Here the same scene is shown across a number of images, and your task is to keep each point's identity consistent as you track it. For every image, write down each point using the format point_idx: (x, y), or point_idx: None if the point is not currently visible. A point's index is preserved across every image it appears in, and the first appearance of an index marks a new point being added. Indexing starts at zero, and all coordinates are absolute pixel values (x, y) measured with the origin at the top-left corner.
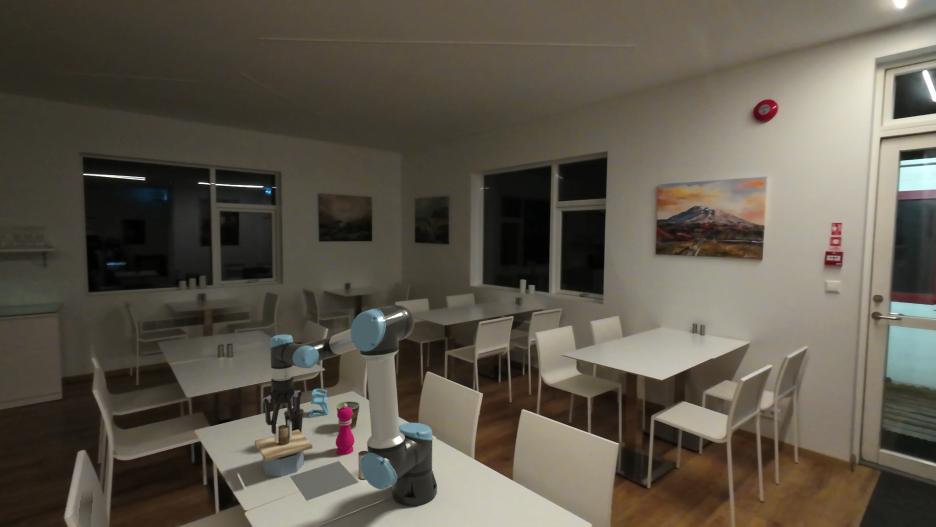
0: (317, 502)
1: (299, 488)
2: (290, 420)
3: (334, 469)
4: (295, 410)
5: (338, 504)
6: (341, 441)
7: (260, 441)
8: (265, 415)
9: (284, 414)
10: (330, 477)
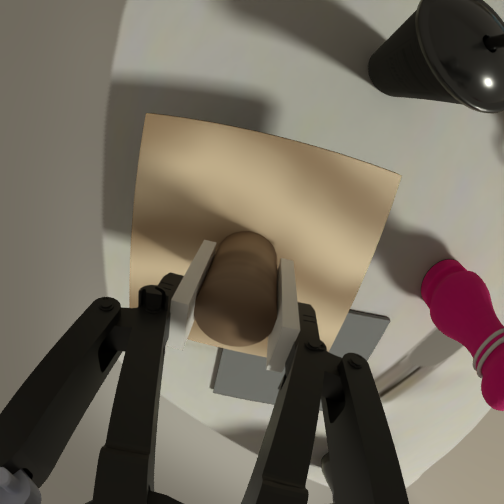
0: (230, 401)
1: (224, 353)
2: (289, 355)
3: (347, 347)
4: (339, 420)
5: (255, 423)
6: (440, 326)
7: (164, 146)
8: (61, 345)
9: (418, 16)
10: None
